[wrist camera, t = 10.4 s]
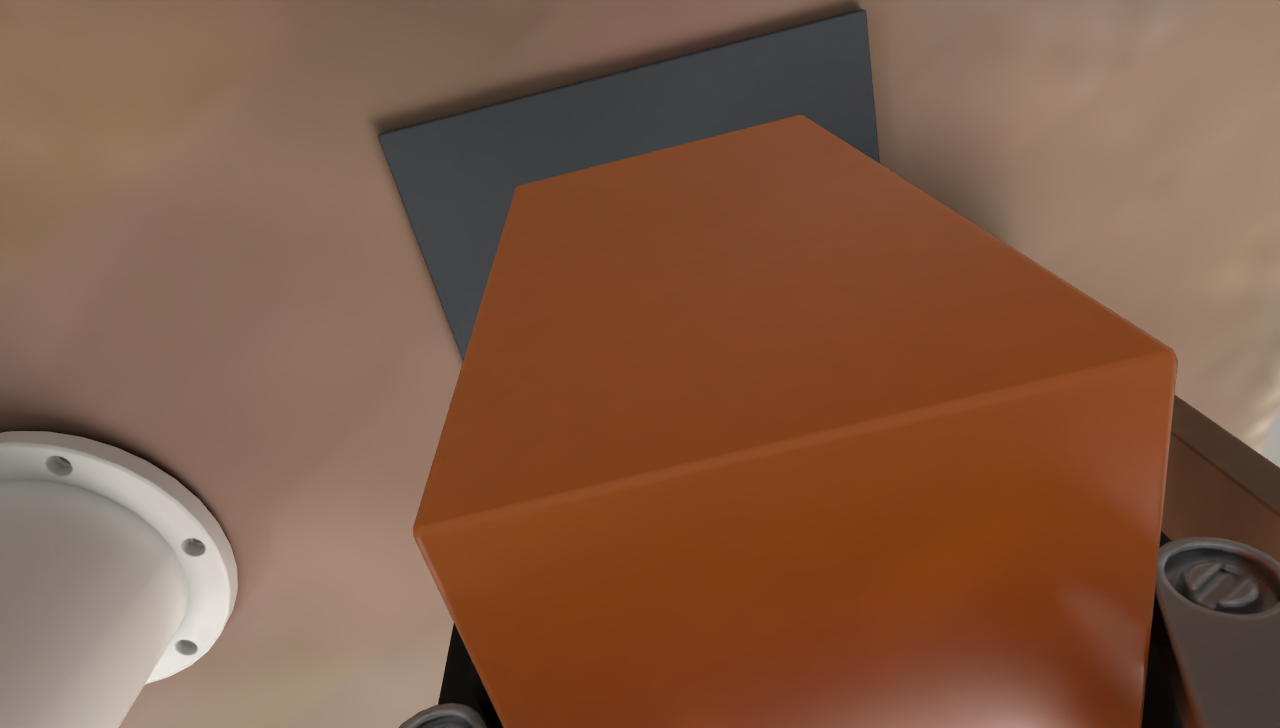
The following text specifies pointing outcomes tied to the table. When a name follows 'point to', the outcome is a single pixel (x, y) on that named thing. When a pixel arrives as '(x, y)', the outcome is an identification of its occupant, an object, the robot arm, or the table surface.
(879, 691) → the block
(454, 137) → the mat
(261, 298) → the table surface
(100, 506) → the robot arm
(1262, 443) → the table surface
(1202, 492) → the wooden toy chair
